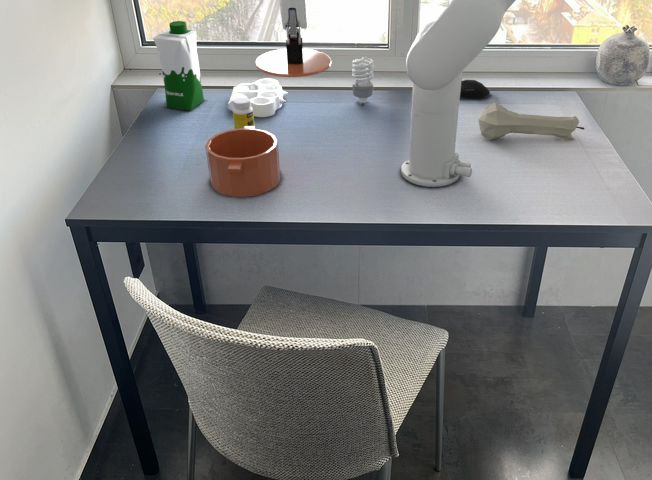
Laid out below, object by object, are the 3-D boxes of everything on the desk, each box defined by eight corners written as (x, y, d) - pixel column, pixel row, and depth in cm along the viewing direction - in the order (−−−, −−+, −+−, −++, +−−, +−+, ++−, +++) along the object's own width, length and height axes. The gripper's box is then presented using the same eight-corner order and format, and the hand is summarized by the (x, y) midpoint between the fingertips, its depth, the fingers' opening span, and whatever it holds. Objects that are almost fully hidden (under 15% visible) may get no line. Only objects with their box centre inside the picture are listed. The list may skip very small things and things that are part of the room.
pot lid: (333, 54, 146) (333, 27, 143) (328, 80, 134) (328, 52, 130) (261, 53, 146) (259, 26, 143) (250, 79, 134) (247, 51, 131)
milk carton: (209, 99, 179) (198, 22, 168) (191, 113, 173) (179, 33, 161) (179, 95, 182) (167, 19, 170) (161, 108, 175) (147, 29, 163)
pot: (284, 158, 152) (282, 123, 147) (273, 204, 136) (270, 166, 131) (220, 158, 152) (216, 122, 147) (202, 203, 136) (196, 165, 131)
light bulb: (360, 109, 174) (360, 63, 167) (347, 102, 178) (347, 56, 171) (377, 104, 177) (378, 58, 170) (365, 97, 181) (365, 52, 174)
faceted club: (472, 124, 164) (575, 129, 165) (476, 149, 159) (582, 153, 160) (479, 95, 157) (586, 99, 158) (483, 119, 152) (594, 124, 153)
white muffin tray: (235, 90, 185) (290, 90, 185) (226, 117, 170) (285, 117, 170) (234, 78, 183) (289, 78, 183) (225, 105, 168) (284, 104, 168)
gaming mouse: (434, 88, 186) (435, 74, 183) (489, 91, 184) (490, 77, 182) (432, 97, 181) (433, 82, 178) (489, 100, 179) (491, 86, 177)
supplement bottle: (251, 138, 160) (247, 104, 155) (232, 137, 161) (228, 103, 156) (257, 130, 164) (254, 97, 159) (239, 128, 165) (235, 95, 160)
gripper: (311, -26, 122) (314, 74, 133) (309, -46, 135) (312, 47, 146) (269, -26, 122) (275, 75, 132) (271, -46, 135) (277, 47, 145)
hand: (295, 59), depth 139 cm, fingers closed on pot lid, 2 cm apart
